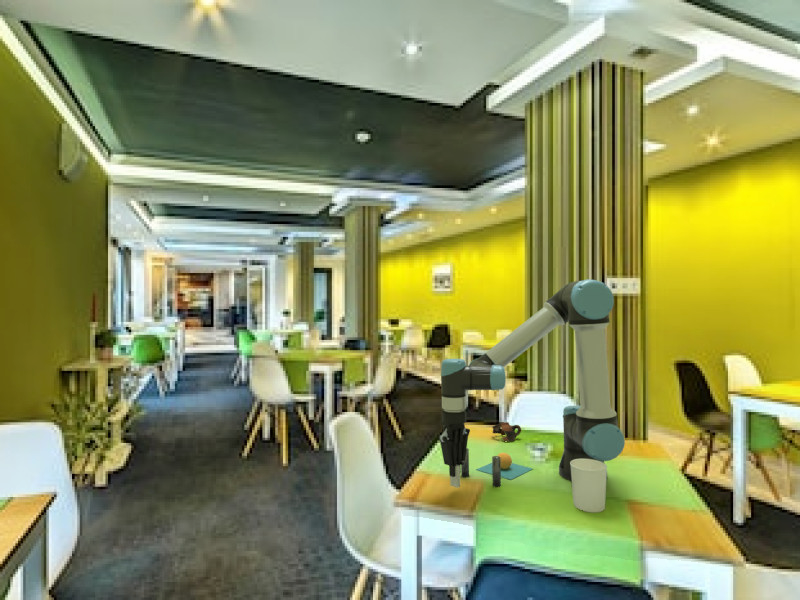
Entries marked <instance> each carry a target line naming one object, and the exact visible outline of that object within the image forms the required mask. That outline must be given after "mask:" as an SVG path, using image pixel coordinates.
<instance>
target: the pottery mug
mask: <svg viewBox="0 0 800 600" xmlns="http://www.w3.org/2000/svg"><path fill="white" fill-rule="evenodd" d="M516 429H517V431H516ZM521 432H522V428H521V426H520V425H519V424H514V425H511V424H510V423H509V422H508V421H507V422H506V421H505V422H500V423H497V424H495V425H493V426H492V434H498V435H501V436H502V435H505V436H502V441H503V442H504V441H509V442H515V441H516V438H517V437H518V436H519V435H520V434H521ZM514 440H515V441H514Z"/></svg>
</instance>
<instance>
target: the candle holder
mask: <svg viewBox="0 0 800 600" xmlns="http://www.w3.org/2000/svg"><path fill="white" fill-rule="evenodd" d="M570 466H571V479H572V481H571V489H572V502H573V506H574V507H575V508H576V509H577V508H578V509H577V510H579V509H580V511H582V510H583V511H582V512H586V513H595V514H596V513H600V512H603V511H604V510H605V509H606V497H607V496H606V495H607V494H606V493H607V480H606V476H607V477H608V465H607V464H606V463H605V462H604V463H603V462H601V461H597V460H593V459H575V460H572V461H571V462H570Z"/></svg>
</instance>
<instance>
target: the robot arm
mask: <svg viewBox="0 0 800 600" xmlns="http://www.w3.org/2000/svg"><path fill="white" fill-rule="evenodd" d="M614 302H615V300H614V294H613V292H612V290H611V288H610V287H609V286H608V285H607V284H606V283H604V282H602V281H600V280H595V279H589V278H588V279H583V280H574V281H571V282H569V283H567V284H565V285H564V286H562V287H560V289H559V290H558V291H556V292H555V293H554V294H553V295H552V296H551V297H550V298H549V299H547V300H546V301H545V302H544V303H543V307H542V308H540V310H538V311H537V312H536V313H534V314H533V315H532V316H531V317H529V318H528V319H527V320H525V321H524V322H523V323H522V324H520V325H519V326H518V327H516V328H515V329H514V330H513V331H511V332H510V333H509V334H507V335H506V336H505V337H504V338H503V339H501V340H500V341H499V342H497V343H496V344H495V345H494V346H492V347H491V348H490V349H488V350H487V351H486V352H485V353H483V354H481V356H479V357H478V358H475V359H473V360H471V361H470V362H469V363H468V365H467V364H466V360H464V359H462V358H447V359H446V358H445V359H443V360H442V362H441V365H440V366H441V367H440V368H441V369H440V381H441V382H440V383H441V409H442V410H441V421H442V424H443V425H444V427H443V432H442V434H439V435H438V436H437V438H438V440H439V443H440V447H441V454H442V459H443V464H444V465H446V466H448V469H449V470H448V471H449V479H450V482H449V483H450V484H449V485H450V486H451V487H454V488H456V489H459V488H460V487H461V465H463V464H464V463H463V462H462V461H465V457H466V449H467V448H468V438H469V436H470V433H471V430H470V428H467V427H465V423H467V410H466V409H467V391H497V390H504V389H505V387H506V380H507V379H506V371H505V367H507V366H508V365H509V364H510V363H511V362H513V361H514V360H515V359H517V358H518V357H520V356H521V355H522V354H523V353H524V352H526V351H527V350H528V349H530V348H531V347H532V346H533V345H535V344H536V343H537V342H539V341H540V340H542V339H543V338H544V337H545V336H547V335H548V334H549V333H551V332H552V331H553V330H554V329H555V328H557V327H558V326H564V325H566V324H567V323H568V326H570V328H571V329H573V330H574V341H575V350H576V351H575V352H576V353H575V354H576V363H577V364H576V365H577V378H578V379H577V380H578V390H579V404H580V405H567V406H565V407H564V408H563V410H562V411H563V414H562V418H563V452H562V455H561V459H560V462H559V465H558V474H559V476H561V478H563V479H566V480H569V481H571V482H572V479H571V466H570V462H571V461H572V460H575V459H593V460H597V461H601V462H603V463H605V462H608V461H612V460H614V459H617V458H618V456H619V455H621V454H622V452H623V451H624V448H625V445H626V444H625V443H626V441H625V440H626V439H625V435H624V433H623V431H622V430H621V428H619V426H618V424H619V423H618V416H617V415H618V413H617V412H616V410H614V409H613V408H612V406H611V393H610V382H609V381H610V380H609V368H608V356H607V354H608V352H607V342H606V331H605V330H606V328H607V327H608V325H610V313H611V311H612V310H613V307H614V304H615V303H614ZM607 480H608V475H607V476H606V481H607Z"/></svg>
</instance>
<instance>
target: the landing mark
mask: <svg viewBox="0 0 800 600" xmlns="http://www.w3.org/2000/svg"><path fill="white" fill-rule="evenodd" d="M475 470H476V471H478V472H481V473H485V474H489V475H492V462H490V463H488V464H485V465H483V466H480V467H478V468H476V469H475ZM532 470H534V468H532V467H528V466H525V465H521V464H518V463H513V462H512V464H511V466H510V467H509V468H508V469H501V479H505V478H506V480H509V479H510V480H509V481H512V480H514V479H516V478H518V477H520V476H522V475H525V474H526V473H528V472H531V471H532Z"/></svg>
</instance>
